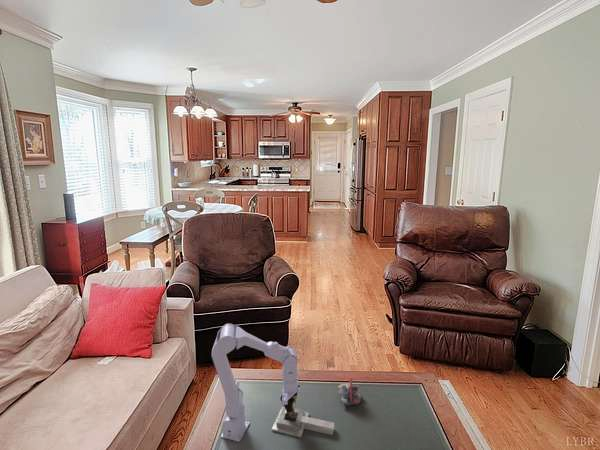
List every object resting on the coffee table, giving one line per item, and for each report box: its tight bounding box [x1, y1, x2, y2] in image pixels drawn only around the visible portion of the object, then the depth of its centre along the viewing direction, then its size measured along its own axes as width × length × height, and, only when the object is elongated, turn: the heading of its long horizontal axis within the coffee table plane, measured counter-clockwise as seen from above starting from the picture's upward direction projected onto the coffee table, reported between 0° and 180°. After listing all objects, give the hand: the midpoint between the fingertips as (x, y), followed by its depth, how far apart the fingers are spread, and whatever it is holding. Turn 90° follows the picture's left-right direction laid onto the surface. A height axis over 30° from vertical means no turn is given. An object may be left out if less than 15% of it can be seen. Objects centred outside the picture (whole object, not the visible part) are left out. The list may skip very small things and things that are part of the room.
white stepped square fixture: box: [271, 405, 335, 438], centre depth 140 cm, size 12×24×3 cm, turn 73°
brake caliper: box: [337, 377, 362, 407], centre depth 153 cm, size 11×11×12 cm
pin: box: [286, 394, 297, 414], centre depth 140 cm, size 4×4×7 cm
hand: (290, 407), depth 140 cm, fingers closed on pin, 4 cm apart
